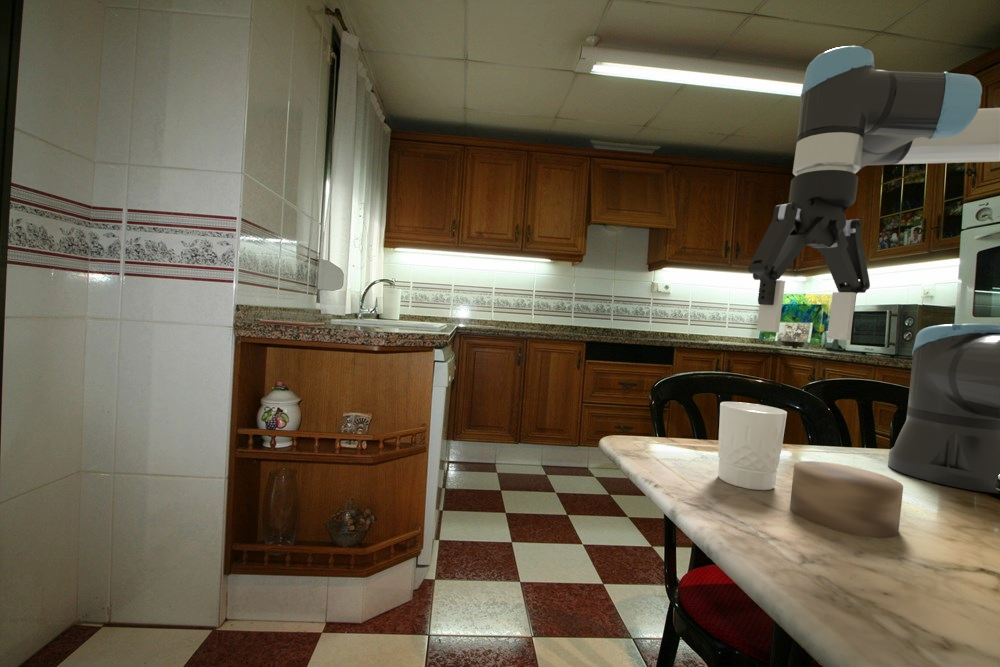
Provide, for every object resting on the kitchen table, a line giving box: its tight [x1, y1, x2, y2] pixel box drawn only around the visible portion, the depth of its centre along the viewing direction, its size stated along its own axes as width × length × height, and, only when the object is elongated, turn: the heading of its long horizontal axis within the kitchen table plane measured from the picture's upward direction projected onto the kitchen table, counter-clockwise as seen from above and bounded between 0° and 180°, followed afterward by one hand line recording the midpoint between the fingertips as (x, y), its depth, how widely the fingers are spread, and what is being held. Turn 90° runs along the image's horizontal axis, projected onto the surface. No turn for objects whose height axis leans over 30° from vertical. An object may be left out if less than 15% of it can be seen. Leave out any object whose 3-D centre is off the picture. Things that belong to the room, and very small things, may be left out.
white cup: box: [717, 401, 788, 491], centre depth 67 cm, size 8×8×10 cm
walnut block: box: [789, 460, 904, 539], centre depth 56 cm, size 10×10×5 cm
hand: (804, 335), depth 67 cm, fingers open, 13 cm apart
